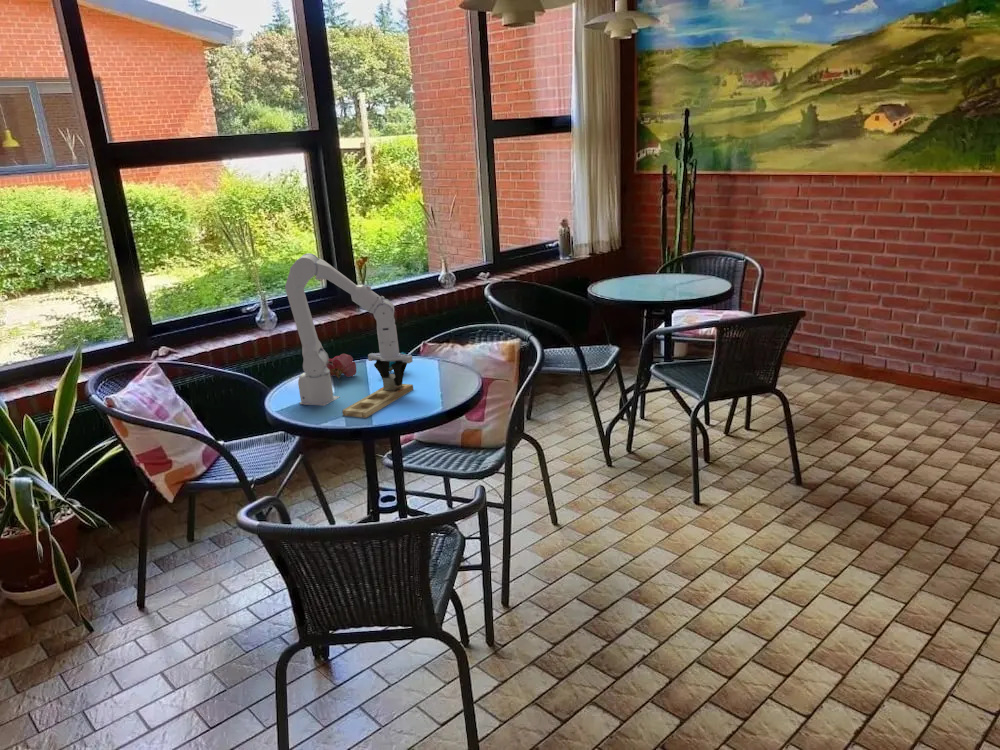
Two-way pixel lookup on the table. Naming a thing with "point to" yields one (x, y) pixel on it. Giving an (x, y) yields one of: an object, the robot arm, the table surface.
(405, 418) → the table surface
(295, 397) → the table surface
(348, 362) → the flower
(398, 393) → the hole board
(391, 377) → the block
